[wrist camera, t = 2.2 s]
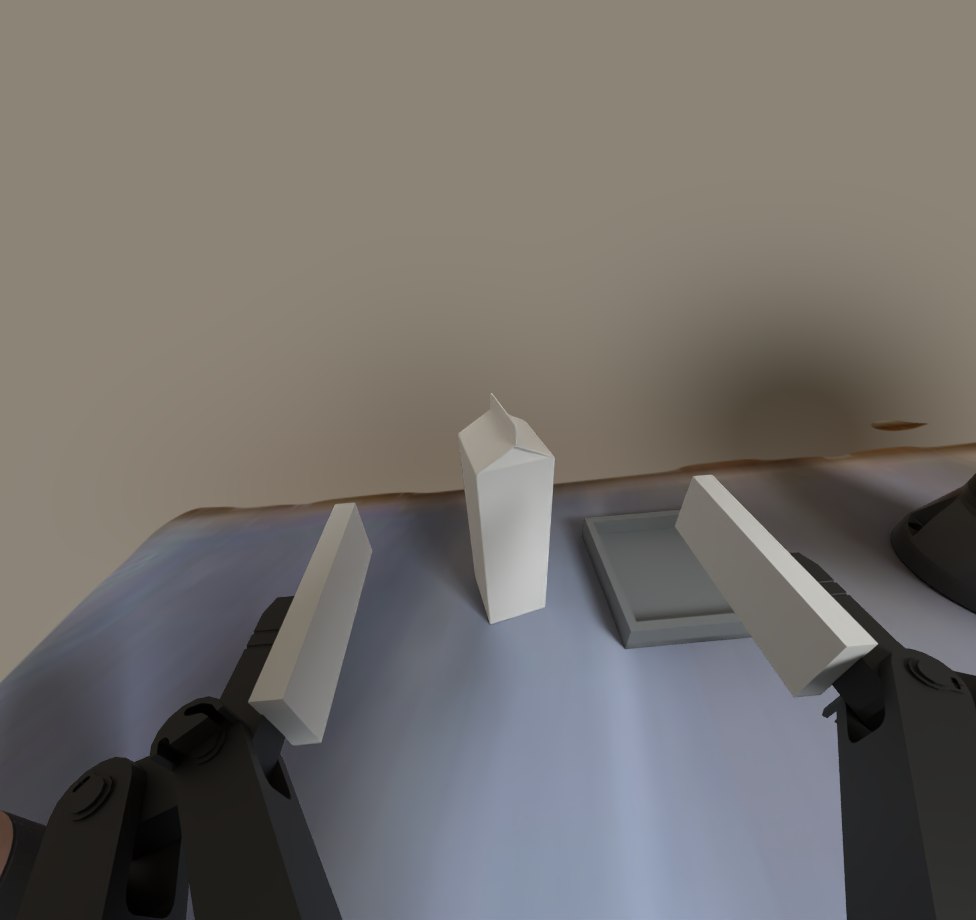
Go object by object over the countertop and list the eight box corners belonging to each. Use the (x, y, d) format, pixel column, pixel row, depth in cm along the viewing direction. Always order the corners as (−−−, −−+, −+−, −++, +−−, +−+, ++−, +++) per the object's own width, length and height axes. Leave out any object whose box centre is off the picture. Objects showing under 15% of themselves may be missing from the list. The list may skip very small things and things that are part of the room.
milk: (524, 563, 41) (526, 384, 28) (545, 609, 36) (560, 417, 23) (473, 577, 39) (453, 396, 27) (488, 626, 35) (472, 434, 22)
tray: (708, 524, 44) (715, 506, 42) (795, 633, 32) (810, 614, 31) (582, 535, 44) (584, 517, 42) (625, 648, 32) (631, 631, 30)
